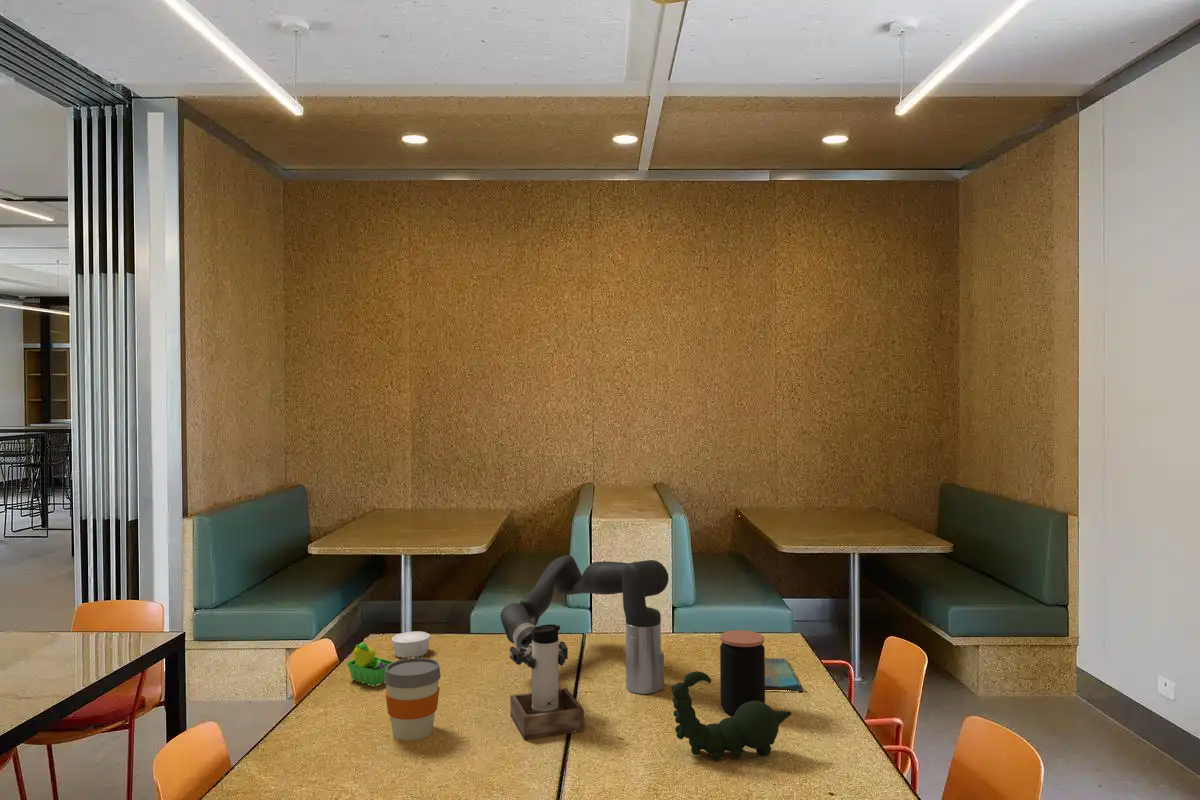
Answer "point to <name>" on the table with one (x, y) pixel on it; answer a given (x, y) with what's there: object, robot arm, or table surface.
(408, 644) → the ramekin
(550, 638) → the travel mug
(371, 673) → the fruit basket
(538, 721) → the walnut crate
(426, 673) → the reusable coffee cup
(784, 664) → the dish towel
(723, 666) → the coffee jar
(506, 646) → the table surface
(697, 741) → the toy figurine
